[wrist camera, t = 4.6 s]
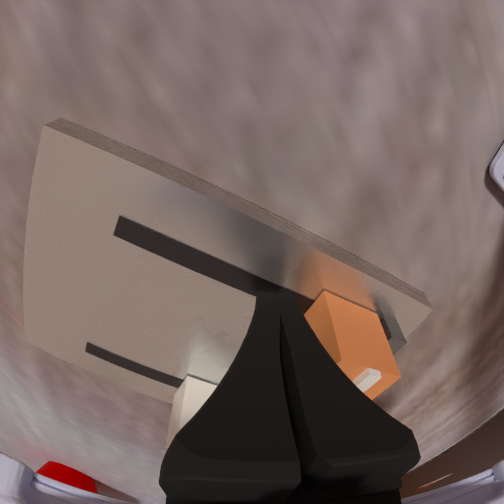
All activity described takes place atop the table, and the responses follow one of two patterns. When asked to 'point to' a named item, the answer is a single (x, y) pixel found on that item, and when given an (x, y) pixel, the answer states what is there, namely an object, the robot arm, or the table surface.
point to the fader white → (187, 404)
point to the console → (169, 266)
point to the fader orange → (354, 342)
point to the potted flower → (67, 476)
